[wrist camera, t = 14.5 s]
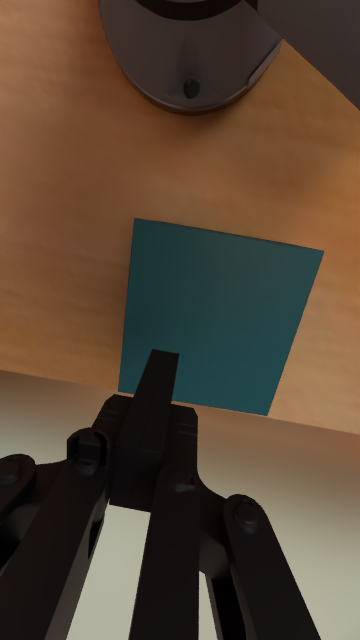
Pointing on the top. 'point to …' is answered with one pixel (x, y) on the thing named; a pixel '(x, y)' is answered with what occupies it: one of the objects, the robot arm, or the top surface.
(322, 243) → the top surface
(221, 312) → the teal box lid
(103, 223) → the top surface
